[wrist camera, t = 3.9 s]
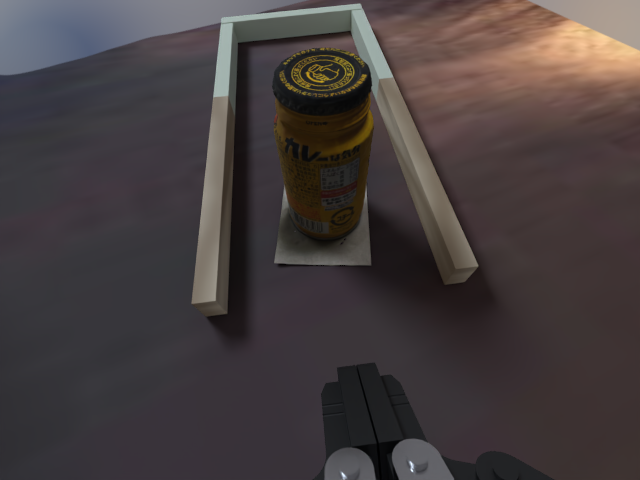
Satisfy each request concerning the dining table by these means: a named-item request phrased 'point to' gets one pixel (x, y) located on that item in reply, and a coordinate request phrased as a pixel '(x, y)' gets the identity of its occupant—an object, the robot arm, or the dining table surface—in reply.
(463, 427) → the dining table surface
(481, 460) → the robot arm
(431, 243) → the wooden guide rails
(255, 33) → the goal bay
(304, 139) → the condiment
